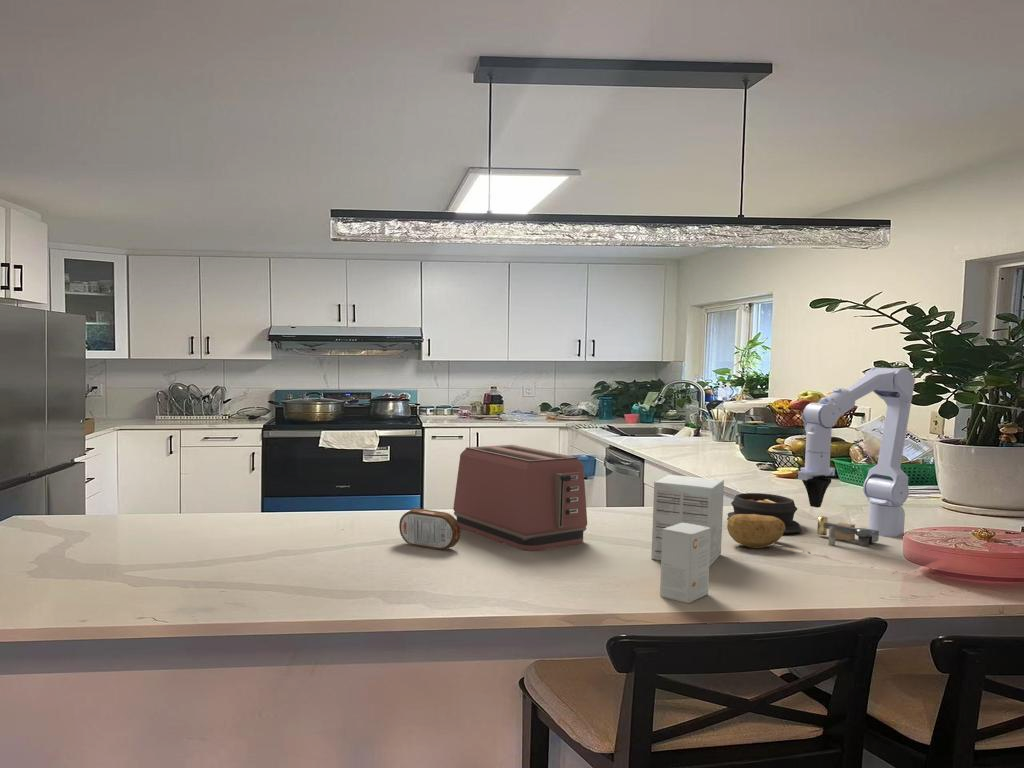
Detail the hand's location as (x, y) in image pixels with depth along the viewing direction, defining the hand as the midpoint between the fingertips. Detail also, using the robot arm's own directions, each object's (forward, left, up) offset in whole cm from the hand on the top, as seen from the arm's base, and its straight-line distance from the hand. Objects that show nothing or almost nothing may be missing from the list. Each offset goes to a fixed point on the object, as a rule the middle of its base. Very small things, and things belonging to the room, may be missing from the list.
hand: (815, 506), depth 194 cm
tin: (+80, -51, -10) cm, 95 cm away
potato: (+15, -7, -10) cm, 19 cm away
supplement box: (+37, -11, -10) cm, 40 cm away
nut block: (-8, +4, -8) cm, 12 cm away
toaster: (+54, -49, -10) cm, 73 cm away
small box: (+61, +6, -10) cm, 62 cm away
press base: (-5, +6, -9) cm, 12 cm away
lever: (-7, +5, -8) cm, 12 cm away
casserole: (-5, -17, -10) cm, 20 cm away
